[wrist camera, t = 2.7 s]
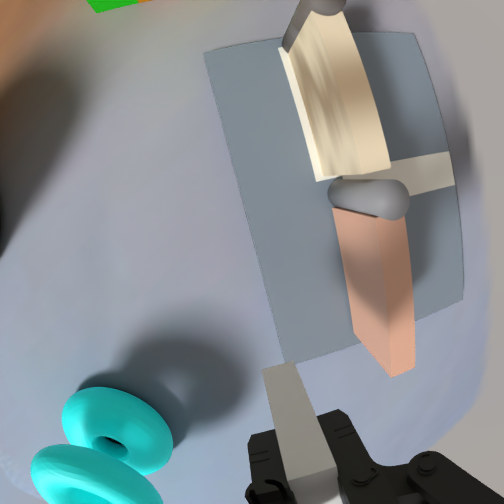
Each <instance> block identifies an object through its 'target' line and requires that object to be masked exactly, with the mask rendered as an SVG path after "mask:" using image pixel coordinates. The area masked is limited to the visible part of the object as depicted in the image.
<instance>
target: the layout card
mask: <svg viewBox="0 0 504 504" xmlns="http://www.w3.org/2000/svg"><path fill="white" fill-rule="evenodd" d="M351 34H352V37H353V39H354V42H355V44H356V47H357V50H358V52H359V55H360V58H361V61H362V64H363V67H364V69H365V72H366V75H367V78H368V82H369V85H370V88H371V91H372V94H373V98H374V101H375V104H376V108H377V111H378V115H379V119H380V122H381V126H382V130H383V134H384V138H385V142H386V146H387V150H388V154H389V159H390V163H391V168H389V169H385V170H380V171H375V172H371V173H366V174H357V175H336V176H323V174H322V170H321V166H320V162H319V158H318V154H317V150H316V146H315V143H314V139H313V135H312V131H311V128H310V124H309V120H308V117H307V113H306V110H305V106H304V103H303V100H302V96H301V93H300V90H299V86H298V83H297V80H296V77H295V74H294V70H293V67H292V64H291V61H290V58H289V55H288V53H287V52H286V51H285V50H284V49H283V47H282V40H283V38H278V39H271V40H264V41H258V42H252V43H247V44H241V45H236V46H231V47H227V48H222V49H218V50H213V51H209V52H205V53H203V55H204V60H205V63H206V67H207V71H208V74H209V78H210V82H211V86H212V89H213V93H214V97H215V100H216V104H217V108H218V111H219V115H220V119H221V123H222V126H223V130H224V134H225V138H226V141H227V145H228V149H229V152H230V156H231V160H232V164H233V167H234V171H235V175H236V179H237V182H238V186H239V190H240V194H241V197H242V201H243V205H244V209H245V212H246V216H247V220H248V224H249V228H250V231H251V235H252V239H253V243H254V246H255V250H256V254H257V258H258V261H259V265H260V269H261V273H262V277H263V280H264V284H265V288H266V292H267V296H268V299H269V303H270V307H271V311H272V315H273V318H274V322H275V326H276V330H277V334H278V338H279V341H280V345H281V349H282V353H283V357H284V360H285V363H287V362H290V361H294V363H295V364H297V363H301V362H304V361H307V360H310V359H314V358H317V357H320V356H323V355H326V354H329V353H332V352H335V351H338V350H341V349H344V348H347V347H350V346H352V345H355V344H358V343H361V341H360V340H359V338H358V337H357V336H356V335H355V334H354V331H353V324H352V317H351V310H350V303H349V297H348V291H347V285H346V279H345V273H344V267H343V262H342V256H341V251H340V246H339V240H338V235H337V230H336V225H335V221H334V216H333V211H332V207H335V206H333V205H332V204H331V203H330V201H329V199H328V195H327V192H328V188H329V186H330V184H331V183H332V182H334V181H336V180H339V179H394V180H398V181H400V182H402V183H403V184H404V185H405V186H406V188H407V190H408V192H409V196H410V205H409V208H408V211H407V212H406V214H405V215H404V216H405V223H406V230H407V237H408V245H409V254H410V263H411V274H412V286H413V301H414V321H417V320H419V319H421V318H424V317H426V316H428V315H430V314H433V313H435V312H437V311H439V310H441V309H444V308H446V307H448V306H450V305H452V304H454V303H456V302H458V301H461V300H463V257H462V240H461V228H460V218H459V209H458V201H457V193H456V186H455V180H454V174H453V168H452V163H451V157H450V152H449V147H448V143H447V138H446V134H445V130H444V125H443V121H442V117H441V114H440V110H439V106H438V103H437V99H436V96H435V92H434V89H433V86H432V83H431V80H430V77H429V74H428V71H427V68H426V65H425V62H424V59H423V56H422V54H421V51H420V48H419V46H418V43H417V41H416V38H415V36H414V34H412V33H392V32H351Z"/></svg>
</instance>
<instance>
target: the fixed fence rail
mask: <svg viewBox="0 0 504 504" xmlns="http://www.w3.org/2000/svg"><path fill="white" fill-rule="evenodd" d="M345 4H346V0H300V2H299V4H298V6H297V8H296V11H295V13H294V15H293V17H292V19H291V22H290V24H289V26H288V28H287V30H286V33H285V35H284V37H283V40H282V47H283V49H284V50H285V51H286V52H287V53H288V55H289V58H290V61H291V64H292V67H293V70H294V74H295V77H296V80H297V83H298V86H299V90H300V93H301V96H302V100H303V103H304V106H305V110H306V113H307V117H308V120H309V124H310V128H311V131H312V135H313V139H314V143H315V146H316V150H317V154H318V158H319V162H320V166H321V170H322V174H323V176H336V175H357V174H366V173H371V172H375V171H380V170H385V169H389V168H391V163H390V159H389V154H388V150H387V146H386V142H385V138H384V134H383V130H382V126H381V122H380V119H379V115H378V111H377V108H376V104H375V101H374V98H373V94H372V91H371V88H370V85H369V82H368V78H367V75H366V72H365V69H364V67H363V64H362V61H361V58H360V55H359V52H358V50H357V47H356V44H355V42H354V39H353V37H352V34H351V31H350V29H349V26H348V24H347V22H346V19H345V17H344V14H343V12H342V8H343V7H344V6H345Z"/></svg>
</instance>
